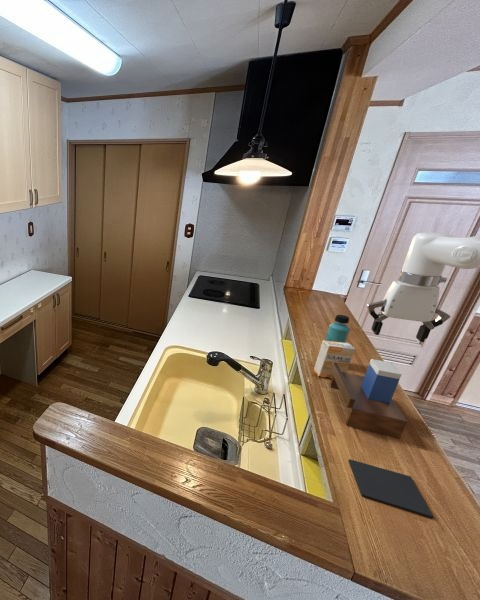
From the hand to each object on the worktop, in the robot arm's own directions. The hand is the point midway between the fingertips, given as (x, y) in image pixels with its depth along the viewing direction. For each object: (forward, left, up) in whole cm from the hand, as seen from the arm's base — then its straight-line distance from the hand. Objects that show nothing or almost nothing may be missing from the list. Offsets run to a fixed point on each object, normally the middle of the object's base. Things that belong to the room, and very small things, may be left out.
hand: (397, 336), depth 93 cm
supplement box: (+8, -17, -25) cm, 31 cm away
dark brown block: (+3, +1, -25) cm, 25 cm away
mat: (+6, +33, -25) cm, 42 cm away
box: (+1, +1, -19) cm, 19 cm away
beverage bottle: (+6, -28, -25) cm, 38 cm away
